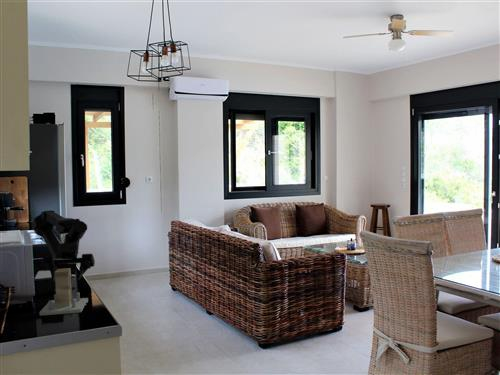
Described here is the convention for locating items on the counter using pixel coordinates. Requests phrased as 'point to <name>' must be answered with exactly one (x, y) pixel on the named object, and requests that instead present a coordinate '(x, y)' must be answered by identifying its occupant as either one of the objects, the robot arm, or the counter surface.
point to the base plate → (73, 308)
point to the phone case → (43, 275)
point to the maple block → (63, 287)
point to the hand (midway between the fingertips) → (65, 280)
